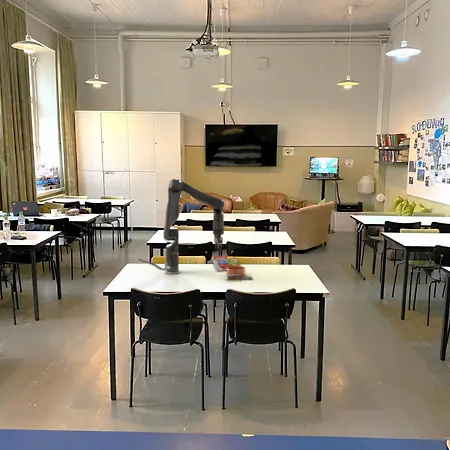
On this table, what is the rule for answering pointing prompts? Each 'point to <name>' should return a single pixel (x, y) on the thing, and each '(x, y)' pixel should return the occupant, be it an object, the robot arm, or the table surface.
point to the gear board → (223, 262)
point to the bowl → (235, 270)
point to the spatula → (237, 277)
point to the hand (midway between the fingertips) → (218, 250)
